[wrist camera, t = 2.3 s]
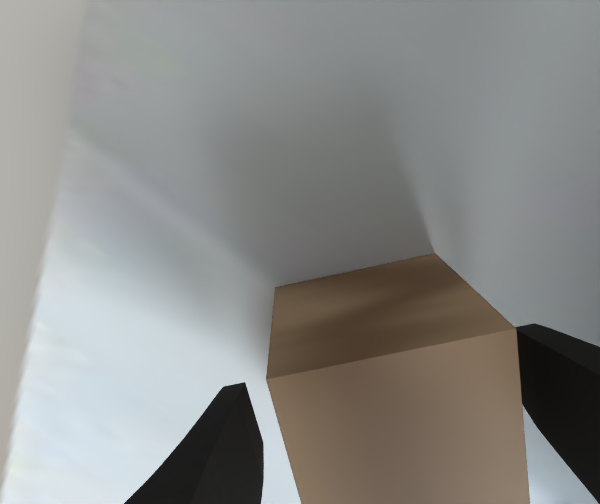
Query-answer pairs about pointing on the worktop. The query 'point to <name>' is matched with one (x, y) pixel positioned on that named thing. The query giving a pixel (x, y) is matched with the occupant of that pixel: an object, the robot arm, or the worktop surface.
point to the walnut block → (397, 389)
